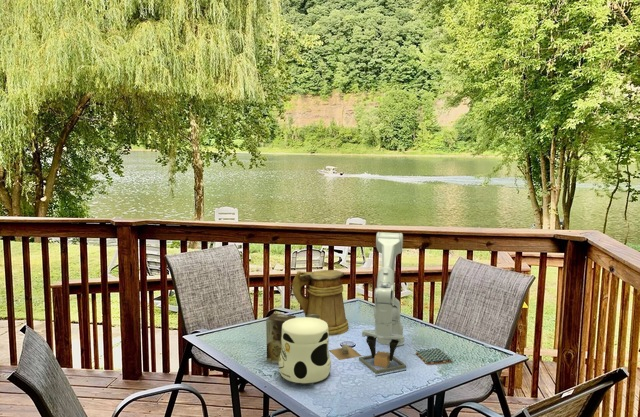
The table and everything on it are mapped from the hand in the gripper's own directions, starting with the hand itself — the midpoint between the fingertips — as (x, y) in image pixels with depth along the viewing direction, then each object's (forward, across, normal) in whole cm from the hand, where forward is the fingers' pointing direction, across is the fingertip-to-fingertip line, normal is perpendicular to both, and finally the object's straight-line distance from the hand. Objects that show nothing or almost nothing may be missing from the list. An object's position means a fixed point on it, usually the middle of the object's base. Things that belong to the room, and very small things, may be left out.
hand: (382, 358), depth 179 cm
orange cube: (+2, 0, 0) cm, 3 cm away
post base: (+3, -15, +4) cm, 16 cm away
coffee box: (+3, -35, -9) cm, 36 cm away
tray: (+3, 0, 0) cm, 3 cm away
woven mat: (+4, +16, +14) cm, 21 cm away
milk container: (+3, -22, -18) cm, 28 cm away
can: (+3, -29, +6) cm, 30 cm away
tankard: (+3, -32, +24) cm, 41 cm away
